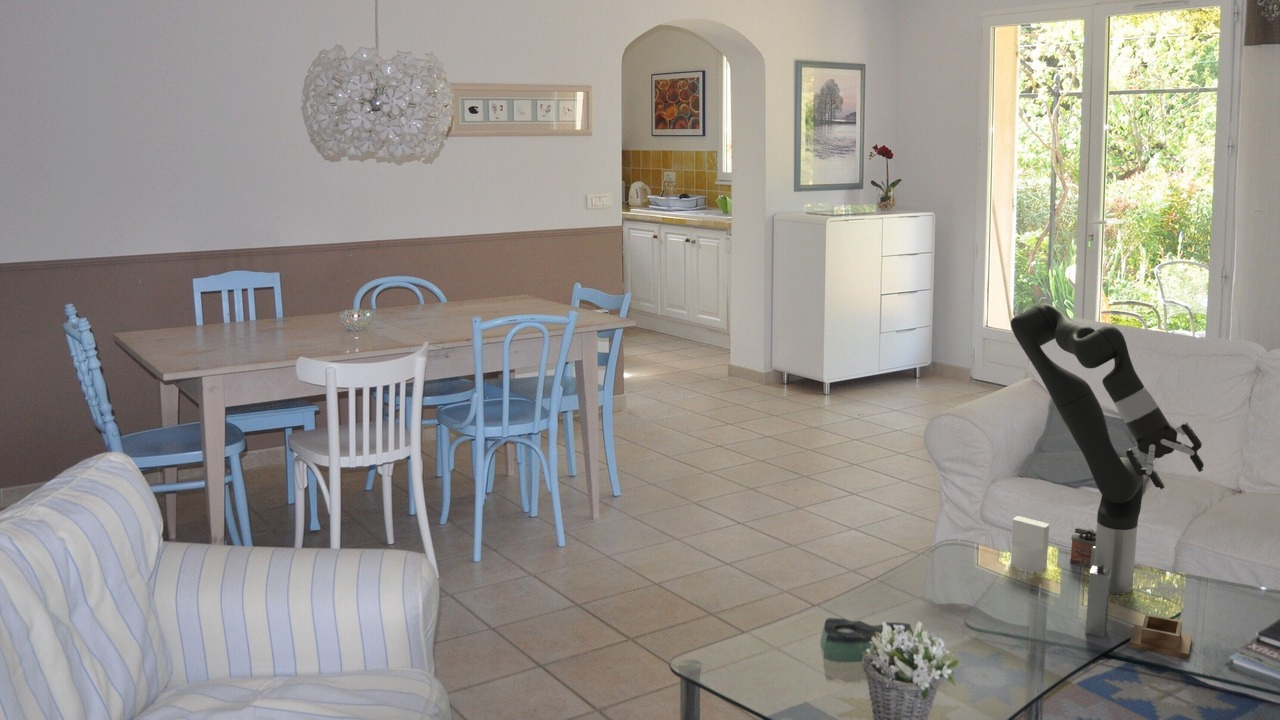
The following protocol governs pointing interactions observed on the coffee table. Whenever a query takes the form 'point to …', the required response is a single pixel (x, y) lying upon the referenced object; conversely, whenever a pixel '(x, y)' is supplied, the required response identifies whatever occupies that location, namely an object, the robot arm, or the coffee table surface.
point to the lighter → (1082, 547)
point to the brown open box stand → (1161, 637)
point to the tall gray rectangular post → (1098, 600)
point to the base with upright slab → (1029, 544)
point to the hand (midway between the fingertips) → (1181, 479)
